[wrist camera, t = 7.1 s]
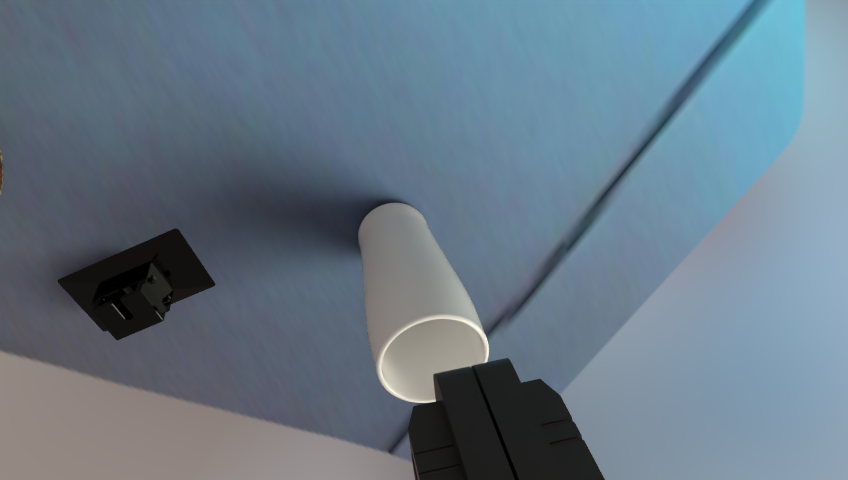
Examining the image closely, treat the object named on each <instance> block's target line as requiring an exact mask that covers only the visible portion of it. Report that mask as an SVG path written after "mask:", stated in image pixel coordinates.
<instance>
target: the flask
mask: <svg viewBox="0 0 848 480" xmlns="http://www.w3.org/2000/svg"><path fill="white" fill-rule="evenodd" d="M2 159H3V158H2V152H1V150H0V194H1V188H2V186H3V165H2Z"/></svg>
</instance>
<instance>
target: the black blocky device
mask: <svg viewBox="0 0 848 480" xmlns="http://www.w3.org/2000/svg"><path fill="white" fill-rule="evenodd" d="M58 283H59V284H60V285H61V286H62V287H63V288H64V289H65V290H66V291H67V293H68V294H69V295H70V296H71V297H72V298H73V299H74V300H75V301H76V302H77V303H78V305H79V306H80V307H81V308H82V309H83V310H84V311H85V312H86V313H87V314H88V315H89V316H90V318H91V319H92V320H93V321H94V322H95V323H96V324H97V325H98V326H99V327H100V328H101V329H102V331H109V332H110V334H111V335H112V336H113V337H114V338H115V339H116V340H120V339H122V338H124V337H127V336H129V335H131V334H134V333H136V332H138V331H141V330H143V329H145V328H148V327H150V326H153V325H155V324H157V323H160V322H162V321H164V316H165V312H168V311H169V310H170V305H171V304H172V303H175V302H177V301H180V300H182V299H184V298H187V297H189V296H192V295H194V294H196V293H199V292H201V291H204V290H206V289H208V288H211V287H213V286H215V283H214V281H213V280H212V278H211V277H210V275H209V274H208V272H207V271H206V269H205V268H204V266H203V265H202V263H201V262H200V261H199V259H198V258H197V256H196V255H195V253H194V252H193V250H192V249H191V247H190V246H189V244H188V243H187V241H186V240H185V239H184V237H183V236H182V234H181V233H180V231H179V230H178V229H173V230H171V231H168V232H166V233H164V234H161V235H159V236H157V237H155V238H152V239H150V240H148V241H145V242H143V243H141V244H139V245H136V246H134V247H132V248H130V249H127V250H125V251H123V252H120V253H118V254H116V255H114V256H111V257H109V258H107V259H104V260H102V261H100V262H98V263H95V264H93V265H91V266H88V267H86V268H84V269H82V270H79V271H77V272H75V273H73V274H70V275H68V276H66V277H63V278H61V279H59V280H58Z"/></svg>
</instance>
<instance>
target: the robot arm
mask: <svg viewBox="0 0 848 480" xmlns="http://www.w3.org/2000/svg"><path fill="white" fill-rule="evenodd" d="M433 380H434V390H435V399H436V402H432V403H427V404H423V405H418V406H414V407H413V411H412V415H411V419H410V423H409V427H408V434H409V441H410V448H411V455H412V462H413V469H414V475H415V480H605V479H604V477H603V475H602V473H601V472H600V470H599V468H598V466H597V464H596V462H595V460H594V458H593V457H592V455H591V453H590V451H589V449H588V447H587V445H586V443H585V441H584V440H582V437H581V434H580V432H579V430H578V428H577V426H576V424H575V423H574V422H573V421H572V417H571V415H570V413H569V411H568V409H567V407H566V406H565V404H564V402H563V400H562V398H561V396H560V395H559V394H558V393H556V392H555V391H554V390H553V389H552V388H550V387H549V386H548V385H547V384H546V383H544V382H543V381H542V380H541V379H537V380H532V381H528V382H523V383H521V382H520V380H519V378H518V376H517V373H516V371H515V369H514V367H513V365H512V363H511V361H510V360H509V359H508V358H505V359H500V360H496V361H491V362H486V363H481V364H477V365H472V366H471V367H470V366H468V367H463V368H459V369H454V370H449V371H445V372H440V373H435V374H433Z"/></svg>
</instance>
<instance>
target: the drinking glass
mask: <svg viewBox="0 0 848 480" xmlns="http://www.w3.org/2000/svg"><path fill="white" fill-rule="evenodd" d="M358 242H359V247H360V251H361V261H362V274H363V288H364V304H365V318H366V327H367V334H368V340H369V345H370V349H371V353H372V357H373V361H374V364H375V368H376V372H377V375H378V378H379V380H380V382H381V384H382V385H383V387H384V388H385V389H386V390H387V391H388V392H390V393H391V394H392V395H394V396H396V397H398V398H400V399H402V400H406V401H410V402H416V403H429V402H436V399H435V390H434V380H433V374H435V373H440V372H445V371H449V370H454V369H459V368H463V367H468V366H470V367H471V366H472V365H477V364H481V363H486V362H487V360H488V354H489V346H488V341H487V338H486V335H485V332H484V330H483V327H482V324H481V321H480V319H479V316H478V314H477V312H476V309H475V307H474V305H473V303H472V301H471V299H470V297H469V295H468V293H467V291H466V289H465V288H464V286H463V284H462V282H461V281H460V279H459V277H458V276H457V274H456V273H455V271H454V269H453V268H452V266H451V265H450V263H449V261H448V260H447V258H446V256H445V255H444V253H443V252H442V250H441V248H440V247H439V245H438V243H437V242H436V240H435V238H434V237H433V235H432V233H431V232H430V230H429V227H428V225H427V223H426V221H425V219H424V217H423V216H422V214H421V213H420V212H419V211H418V210H416V209H415V208H413V207H412V206H409V205H407V204H403V203H387V204H384V205H381V206H378V207H377V208H375V209H373V210H372V211H371V212H369V213H368V214H367V215H366V217H365V218H364V219H363V221H362V223H361V225H360V228H359V232H358Z"/></svg>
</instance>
